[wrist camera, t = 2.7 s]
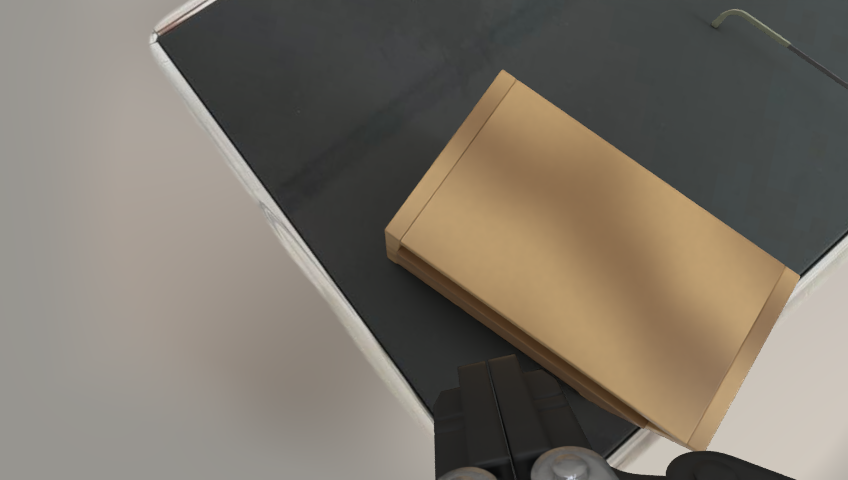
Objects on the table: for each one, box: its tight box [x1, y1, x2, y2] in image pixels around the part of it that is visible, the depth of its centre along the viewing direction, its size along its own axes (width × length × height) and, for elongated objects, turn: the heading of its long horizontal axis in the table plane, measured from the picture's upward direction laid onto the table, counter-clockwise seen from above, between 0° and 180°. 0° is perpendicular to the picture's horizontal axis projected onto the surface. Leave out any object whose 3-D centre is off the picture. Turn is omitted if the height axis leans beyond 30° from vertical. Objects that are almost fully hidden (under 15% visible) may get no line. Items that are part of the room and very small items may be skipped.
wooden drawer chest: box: [385, 70, 800, 451], centre depth 25 cm, size 9×16×11 cm, turn 55°
